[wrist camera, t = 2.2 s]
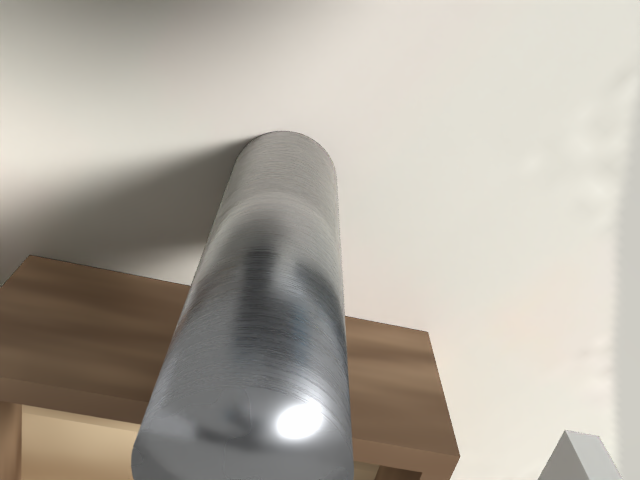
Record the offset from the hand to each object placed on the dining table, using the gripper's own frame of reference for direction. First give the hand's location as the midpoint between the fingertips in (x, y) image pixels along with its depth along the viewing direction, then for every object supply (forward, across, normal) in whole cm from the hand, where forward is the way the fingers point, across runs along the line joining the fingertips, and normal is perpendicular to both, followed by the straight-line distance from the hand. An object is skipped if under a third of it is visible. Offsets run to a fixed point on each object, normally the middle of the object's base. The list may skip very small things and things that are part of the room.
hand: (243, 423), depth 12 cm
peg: (+12, 0, 0) cm, 13 cm away
